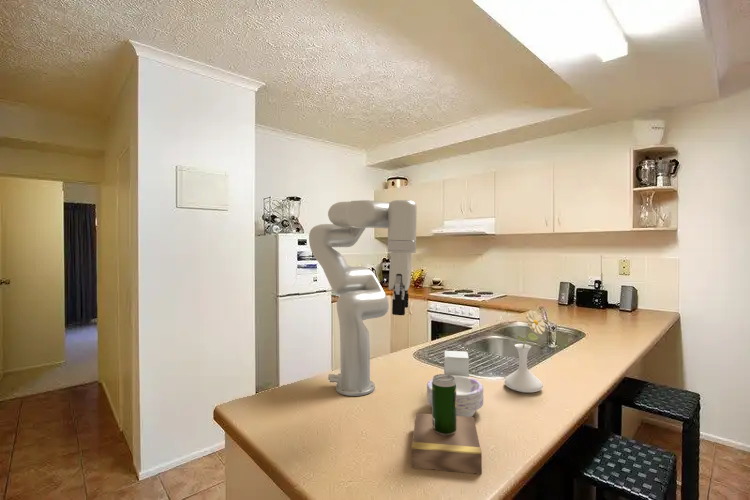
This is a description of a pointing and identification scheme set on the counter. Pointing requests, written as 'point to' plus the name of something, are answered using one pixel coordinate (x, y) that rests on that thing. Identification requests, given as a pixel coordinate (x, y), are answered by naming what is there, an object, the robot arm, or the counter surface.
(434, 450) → the gold striped gift box
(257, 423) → the counter surface
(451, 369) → the supplement box
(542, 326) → the flower in vase
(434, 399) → the beer can
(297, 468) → the counter surface
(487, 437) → the counter surface
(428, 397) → the paper bowls
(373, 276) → the robot arm
